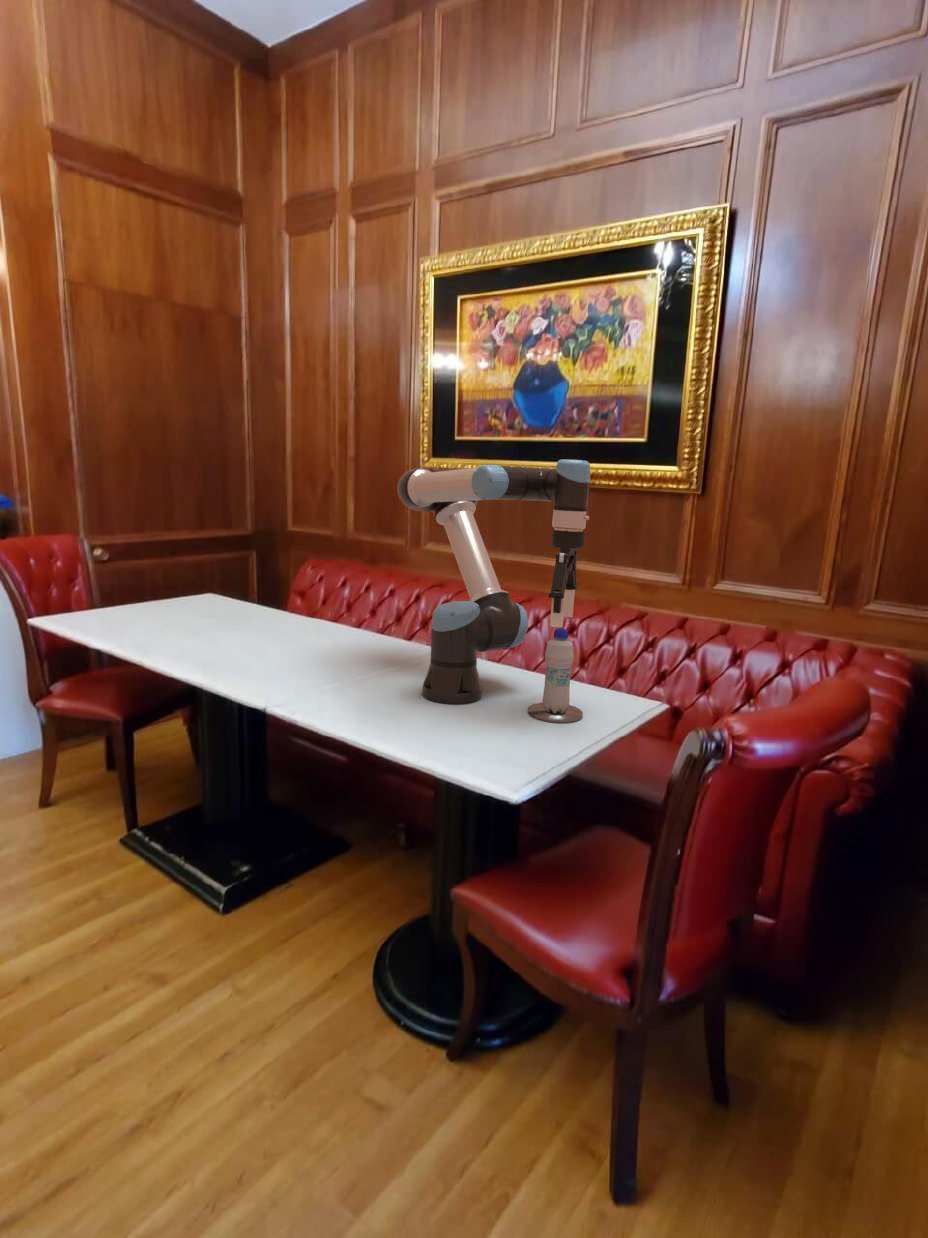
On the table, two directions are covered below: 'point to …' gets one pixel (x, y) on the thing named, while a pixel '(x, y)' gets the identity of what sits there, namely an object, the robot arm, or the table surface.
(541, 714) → the flange disc
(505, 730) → the table surface
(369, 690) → the table surface
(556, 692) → the bottle
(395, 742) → the table surface
